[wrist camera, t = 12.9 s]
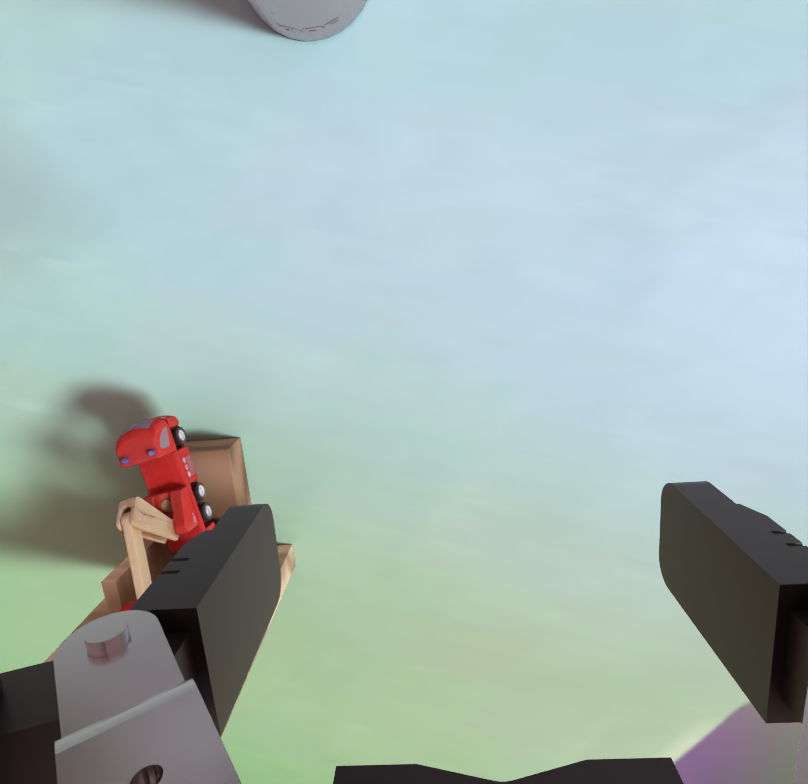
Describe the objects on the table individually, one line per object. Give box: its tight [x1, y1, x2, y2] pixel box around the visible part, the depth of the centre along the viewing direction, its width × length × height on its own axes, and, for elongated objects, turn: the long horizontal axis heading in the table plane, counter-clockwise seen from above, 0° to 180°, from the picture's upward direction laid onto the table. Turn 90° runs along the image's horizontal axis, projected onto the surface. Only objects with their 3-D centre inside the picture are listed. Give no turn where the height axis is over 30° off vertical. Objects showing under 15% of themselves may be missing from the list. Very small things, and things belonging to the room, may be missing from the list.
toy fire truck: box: [116, 416, 215, 612], centre depth 38 cm, size 3×14×10 cm, turn 17°
